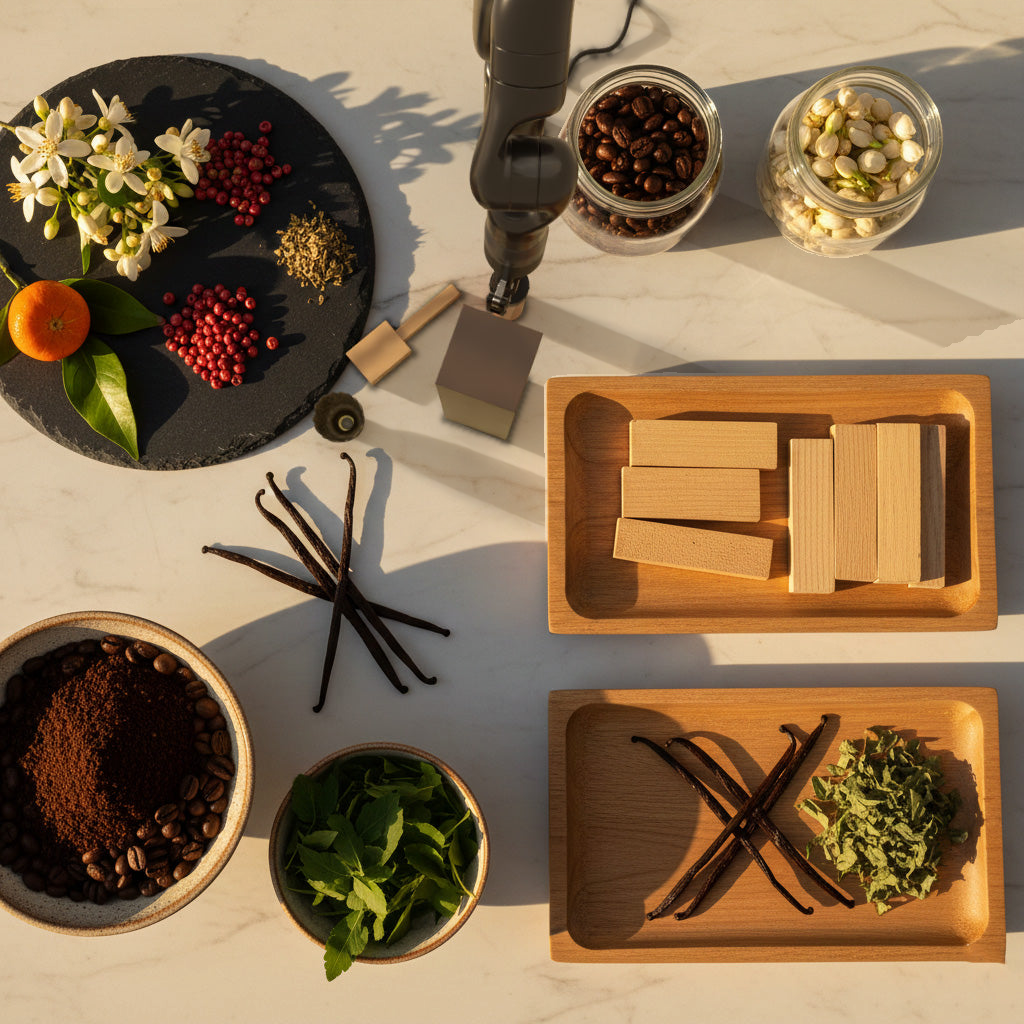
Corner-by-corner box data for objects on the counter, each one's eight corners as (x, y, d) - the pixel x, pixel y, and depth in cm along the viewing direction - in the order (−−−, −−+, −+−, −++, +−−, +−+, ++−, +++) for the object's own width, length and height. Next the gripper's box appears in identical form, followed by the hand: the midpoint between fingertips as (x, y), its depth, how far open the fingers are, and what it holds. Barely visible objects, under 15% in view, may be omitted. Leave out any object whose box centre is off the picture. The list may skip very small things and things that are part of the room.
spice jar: (496, 283, 125) (498, 262, 115) (528, 295, 125) (532, 274, 115) (485, 314, 125) (486, 295, 115) (516, 326, 125) (520, 308, 115)
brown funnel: (365, 452, 124) (357, 447, 116) (318, 442, 124) (307, 436, 116) (375, 405, 124) (368, 396, 116) (328, 395, 124) (318, 386, 116)
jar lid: (497, 262, 116) (497, 258, 114) (534, 276, 116) (535, 272, 114) (483, 299, 116) (483, 295, 114) (521, 312, 116) (521, 309, 114)
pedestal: (467, 358, 125) (463, 303, 94) (527, 380, 125) (543, 333, 94) (445, 418, 124) (434, 383, 94) (505, 440, 125) (515, 412, 94)
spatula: (468, 305, 125) (468, 302, 123) (372, 385, 124) (371, 383, 122) (443, 276, 125) (443, 272, 123) (347, 356, 124) (345, 353, 122)
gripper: (525, 302, 95) (517, 336, 112) (565, 190, 95) (552, 240, 112) (465, 280, 95) (467, 317, 111) (506, 168, 95) (502, 222, 112)
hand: (510, 279), depth 112 cm, fingers open, 7 cm apart
